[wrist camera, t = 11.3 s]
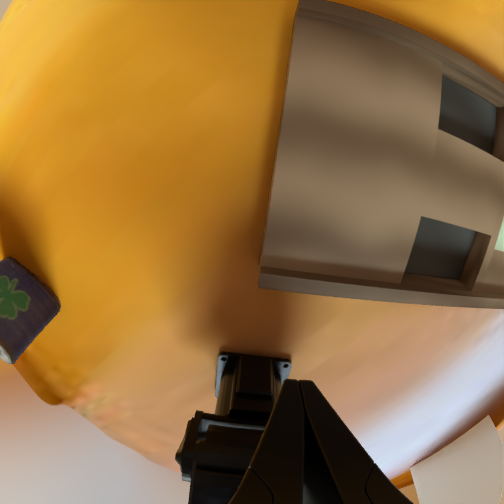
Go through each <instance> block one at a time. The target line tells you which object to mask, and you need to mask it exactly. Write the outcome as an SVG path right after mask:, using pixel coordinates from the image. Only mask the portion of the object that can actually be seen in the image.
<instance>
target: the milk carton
mask: <svg viewBox="0 0 504 504" xmlns="http://www.w3.org/2000/svg"><path fill="white" fill-rule="evenodd" d="M410 471H411V474H412V477H413V481H414V484H415V488H416V492H417V495H418V499H419V503H420V504H500V503H501V499H502V496H503V493H504V443H503V441H502V439H501V437H500V435H499V433H498V431H497V429H496V427H495V426H494V424H493V422H492V420H491V418H490V416H489V415H488V416H486V417H485V418H484V419H483V420H481V421H480V422H479V423H478V424H476V425H475V426H474V427H472V428H471V429H470V430H468V431H467V432H466V433H464V434H463V435H462V436H460V437H459V438H457V439H456V440H454V441H453V442H452V443H450V444H449V445H447V446H445V447H444V448H442V449H441V450H439V451H438V452H436V453H434V454H433V455H431V456H429V457H428V458H426V459H424V460H423V461H421V462H419V463H417V464H416V465H414V466H412V467H410Z"/></svg>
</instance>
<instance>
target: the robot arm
mask: <svg viewBox="0 0 504 504" xmlns="http://www.w3.org/2000/svg"><path fill="white" fill-rule="evenodd" d="M223 357H225V358H223ZM284 364H287V365H284ZM290 369H291V361H290V360H288V359H279V358H269V357H260V356H251V355H243V354H235V353H228V352H221V353H220V354H219V356H218V365H217V378H216V392H215V396H216V397H217V404H216V410H215V414H209V413H203V411H198V410H196V413H195V417H194V418H193V417H192V419H191V420H189V421H188V424H187V428H186V432H185V436H184V438H183V440H182V442H181V445H180V447H179V449H178V451H177V453H176V456H175V460H176V461H177V462H178V464H179V465H180V466H181V472H182V480H183V481H188V482H191V485H190V493H189V502H188V504H413V503H412V502H411V501H410V500H409V499H408V498H407V497H405V496H404V495H403V494H402V493H401V492H400V491H399V490H398V489H397V488H396V487H395V486H394V485H393V484H392V482H391V481H390V480H389V479H388V478H387V477H386V475H385V474H384V473H383V472H382V471H381V470H380V468H379V467H378V466H377V464H376V463H374V461H373V460H372V458H371V457H370V456H369V455H368V453H367V452H366V451H365V449H364V448H363V447H362V446H361V444H360V443H359V442H358V440H357V439H356V438H355V437H354V435H353V434H352V433H351V431H350V430H349V429H348V427H347V426H346V425H345V424H344V422H343V421H342V420H341V418H340V417H339V416H338V414H337V413H336V412H335V410H334V409H333V408H332V406H331V405H330V404H329V402H328V401H327V400H326V398H325V397H324V396H323V394H322V393H321V392H320V390H319V389H318V388H317V386H316V385H315V384H314V382H313V381H311V380H299V381H298V380H296V379H288V376H289V373H290ZM373 463H374V464H373Z"/></svg>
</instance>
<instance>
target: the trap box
mask: <svg viewBox="0 0 504 504" xmlns="http://www.w3.org/2000/svg"><path fill="white" fill-rule="evenodd" d="M258 288H264V289H272V290H280V291H288V292H296V293H305V294H313V295H323V296H332V297H341V298H351V299H362V300H372V301H384V302H395V303H408V304H421V305H435V306H451V307H469V308H491V309H504V83H503V82H501V81H500V80H499V79H497V78H496V77H495V76H493V75H492V74H490V73H489V72H488V71H486V70H485V69H483V68H482V67H480V66H479V65H477V64H476V63H474V62H473V61H471V60H469V59H468V58H466V57H465V56H463V55H461V54H460V53H458V52H456V51H454V50H453V49H451V48H449V47H447V46H445V45H444V44H442V43H440V42H438V41H436V40H434V39H432V38H430V37H428V36H426V35H424V34H422V33H420V32H417V31H415V30H413V29H411V28H408V27H406V26H404V25H401V24H399V23H397V22H394V21H391V20H389V19H386V18H383V17H381V16H378V15H375V14H372V13H369V12H366V11H363V10H360V9H356V8H353V7H350V6H346V5H342V4H339V3H335V2H330V1H326V0H299V2H298V5H297V9H296V13H295V17H294V24H293V31H292V39H291V46H290V54H289V61H288V68H287V76H286V83H285V90H284V97H283V104H282V111H281V119H280V126H279V133H278V139H277V146H276V153H275V160H274V167H273V174H272V181H271V187H270V194H269V201H268V207H267V214H266V221H265V227H264V234H263V240H262V247H261V253H260V260H259V274H258Z"/></svg>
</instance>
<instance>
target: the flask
mask: <svg viewBox="0 0 504 504" xmlns="http://www.w3.org/2000/svg"><path fill="white" fill-rule="evenodd" d="M60 308H61V305H60V301H59V300H58V298H57V297H56V296H55V294H54V293H53V292H52V291H51V290H50V289H49V288H48V287H47V286H46V285H45V284H44V283H43V282H42V281H41V280H40V279H39V278H38V277H36V276H35V275H34V274H32V273H31V272H30V271H29V270H28V269H26V268H25V267H24V266H23V265H21V264H20V263H19V262H17V261H16V260H15V259H13V258H11V257H7V258H4V259H3V260H1V261H0V358H1V359H2V360H4V361H5V362H6V363H9V364H14V363H15V362H16V360H17V359H18V357H19V356H20V355H21V354H22V353H23V352H24V351H25V350H26V348H27V347H28V346H29V345H30V344H31V343H32V341H33V340H34V339H35V337H36V336H37V335H38V334H39V333H40V332H41V331H42V330H43V329H44V328H45V326H46V325H47V324H48V323H49V322H50V321H51V320H52V319H53V318H54V317H55V316H56V315H57V314H58V312H60Z"/></svg>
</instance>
